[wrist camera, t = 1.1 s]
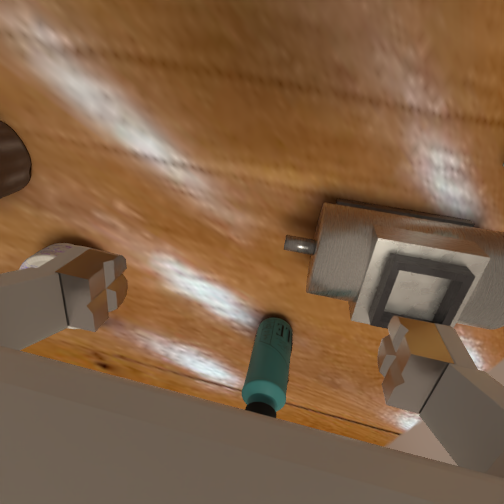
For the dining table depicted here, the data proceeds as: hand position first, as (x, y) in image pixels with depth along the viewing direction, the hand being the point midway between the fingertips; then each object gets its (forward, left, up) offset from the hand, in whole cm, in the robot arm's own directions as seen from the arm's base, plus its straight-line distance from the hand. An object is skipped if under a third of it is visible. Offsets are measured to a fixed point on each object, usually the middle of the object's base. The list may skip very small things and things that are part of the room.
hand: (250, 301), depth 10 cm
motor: (+12, +13, -38) cm, 42 cm away
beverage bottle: (+32, +1, -38) cm, 50 cm away
